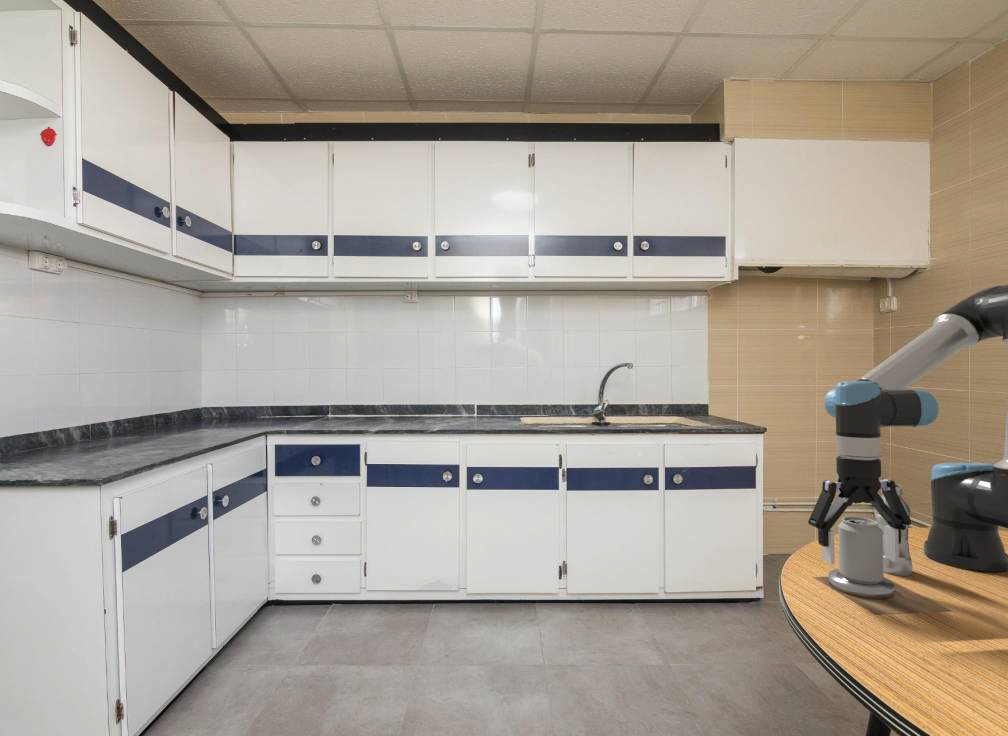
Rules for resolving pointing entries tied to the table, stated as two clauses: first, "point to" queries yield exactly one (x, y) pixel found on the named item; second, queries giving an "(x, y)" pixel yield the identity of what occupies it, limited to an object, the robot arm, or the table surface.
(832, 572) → the grey hollow ring
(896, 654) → the table surface
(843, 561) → the can
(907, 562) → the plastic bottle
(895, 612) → the board
